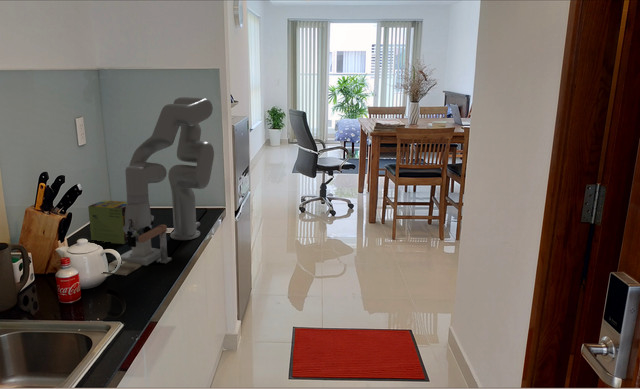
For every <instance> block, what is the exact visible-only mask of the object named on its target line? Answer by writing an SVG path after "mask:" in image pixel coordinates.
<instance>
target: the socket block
mask: <svg viewBox="0 0 640 389" xmlns="http://www.w3.org/2000/svg"><path fill="white" fill-rule="evenodd" d="M151 248H152V253H151V254H149V255H148V256H146V257H138V256H132V249H130V250H128V251H126V252H124V253H122V254H121V255H120V256H121V258H122V261H127V262H134V263H141V266H149V265H150V264H152V263H153V262H156V260H158V259H159V258H161V254H160V248H155V247H151Z"/></svg>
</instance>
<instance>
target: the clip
mask: <svg viewBox="0 0 640 389" xmlns="http://www.w3.org/2000/svg"><path fill="white" fill-rule="evenodd" d="M162 232H166V233H167V232H168V226H167V224H158V225H157V226H156V227H154V228H152V229H151V230H150V231H148V232H146V233H144V232H143V234H142V235H140V236H138V240H139V242H145V241H147V240H149V239H151V238H152V239H153V238H155V237H157V236H159V234H160V233H162ZM152 239H151V240H152Z"/></svg>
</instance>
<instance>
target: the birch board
mask: <svg viewBox="0 0 640 389" xmlns="http://www.w3.org/2000/svg"><path fill="white" fill-rule="evenodd" d="M117 260H118V259H114V260H113V261H112V262H110V263H108V264H109V272H111V271H113V270H114V269H115V267H116V265H117ZM141 267H142V265H141V263H134V262H127V261H122V264H121V267H120V268H119V269H118V270H117V271H116V272H115V273H114V275H118V276H120V275H121V276H127V275H129V274H131V273H132V272H134V271H136V270H137V269H139V268H141Z"/></svg>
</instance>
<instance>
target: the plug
mask: <svg viewBox="0 0 640 389" xmlns="http://www.w3.org/2000/svg"><path fill="white" fill-rule="evenodd" d="M142 234H144V230H143V229H140V230H138V233H137V235H135V237H136V247H131V250H132V256H138V257H146V256H148V255H149V254H151V253H152V248H153V247H152V239H149V240H147V241H145V242H139V240H138V236H140V235H142Z"/></svg>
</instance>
